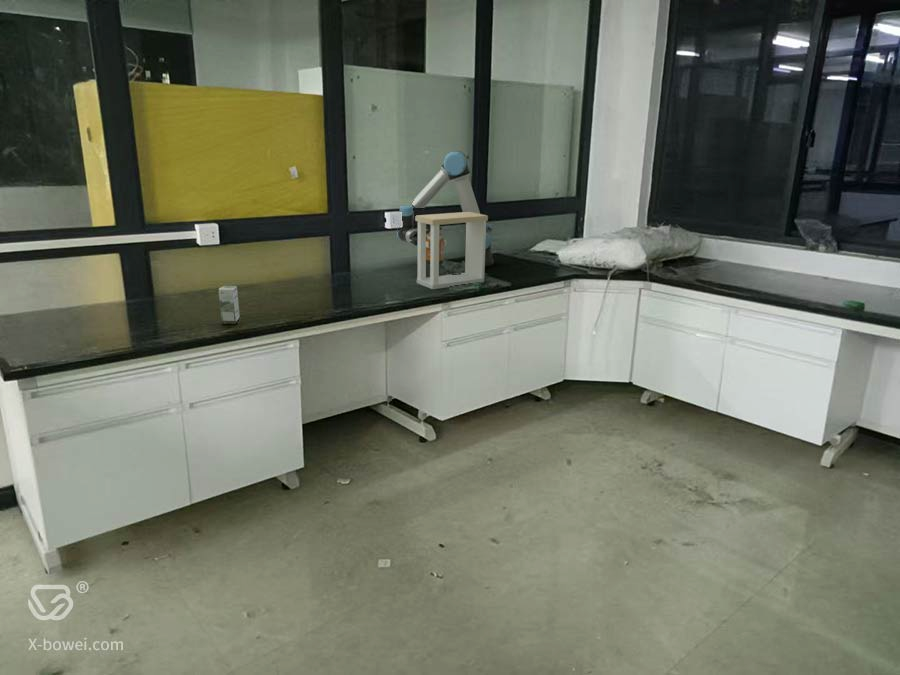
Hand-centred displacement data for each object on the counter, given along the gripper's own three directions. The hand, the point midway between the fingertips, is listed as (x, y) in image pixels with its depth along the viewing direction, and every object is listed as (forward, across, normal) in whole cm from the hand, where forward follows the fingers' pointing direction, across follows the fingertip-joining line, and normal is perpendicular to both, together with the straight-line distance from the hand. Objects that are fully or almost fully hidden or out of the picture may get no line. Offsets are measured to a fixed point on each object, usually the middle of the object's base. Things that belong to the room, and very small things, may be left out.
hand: (437, 244), depth 325 cm
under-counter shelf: (+13, 0, -17) cm, 21 cm away
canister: (-4, 0, -11) cm, 12 cm away
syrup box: (+27, +113, -18) cm, 117 cm away
